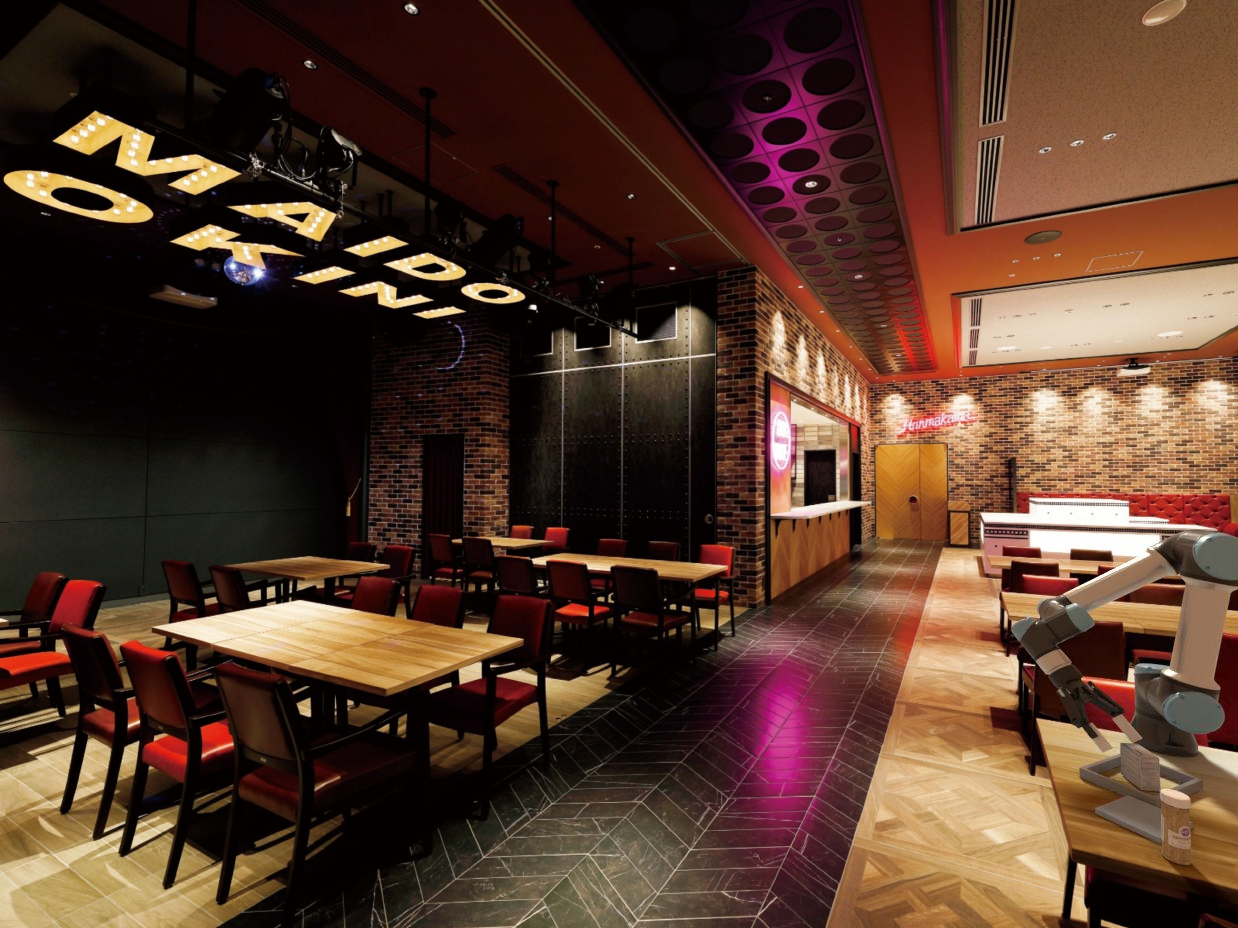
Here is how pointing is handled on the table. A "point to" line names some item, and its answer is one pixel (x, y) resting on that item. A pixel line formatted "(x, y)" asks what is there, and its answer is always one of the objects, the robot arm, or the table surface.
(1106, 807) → the board
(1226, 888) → the table surface
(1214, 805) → the table surface
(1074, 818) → the table surface
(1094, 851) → the table surface
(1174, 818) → the sprinkles bottle
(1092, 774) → the grey rectangular frame
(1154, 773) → the medicine box
